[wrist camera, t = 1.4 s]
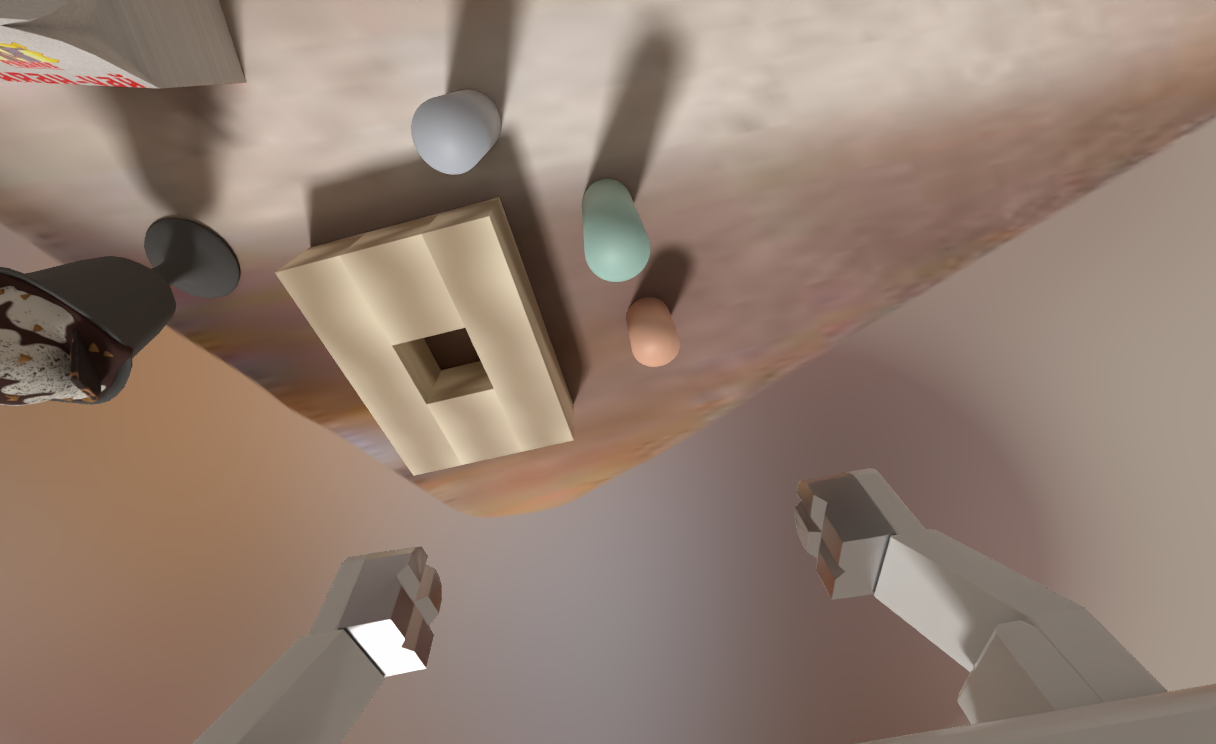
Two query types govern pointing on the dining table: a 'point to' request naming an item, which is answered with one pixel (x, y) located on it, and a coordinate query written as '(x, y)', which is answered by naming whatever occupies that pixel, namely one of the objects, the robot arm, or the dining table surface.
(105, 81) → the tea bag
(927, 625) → the robot arm
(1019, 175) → the dining table surface
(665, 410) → the dining table surface
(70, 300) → the sundae
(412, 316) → the hole block
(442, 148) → the medium dowel
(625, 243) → the long dowel
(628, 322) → the short dowel
